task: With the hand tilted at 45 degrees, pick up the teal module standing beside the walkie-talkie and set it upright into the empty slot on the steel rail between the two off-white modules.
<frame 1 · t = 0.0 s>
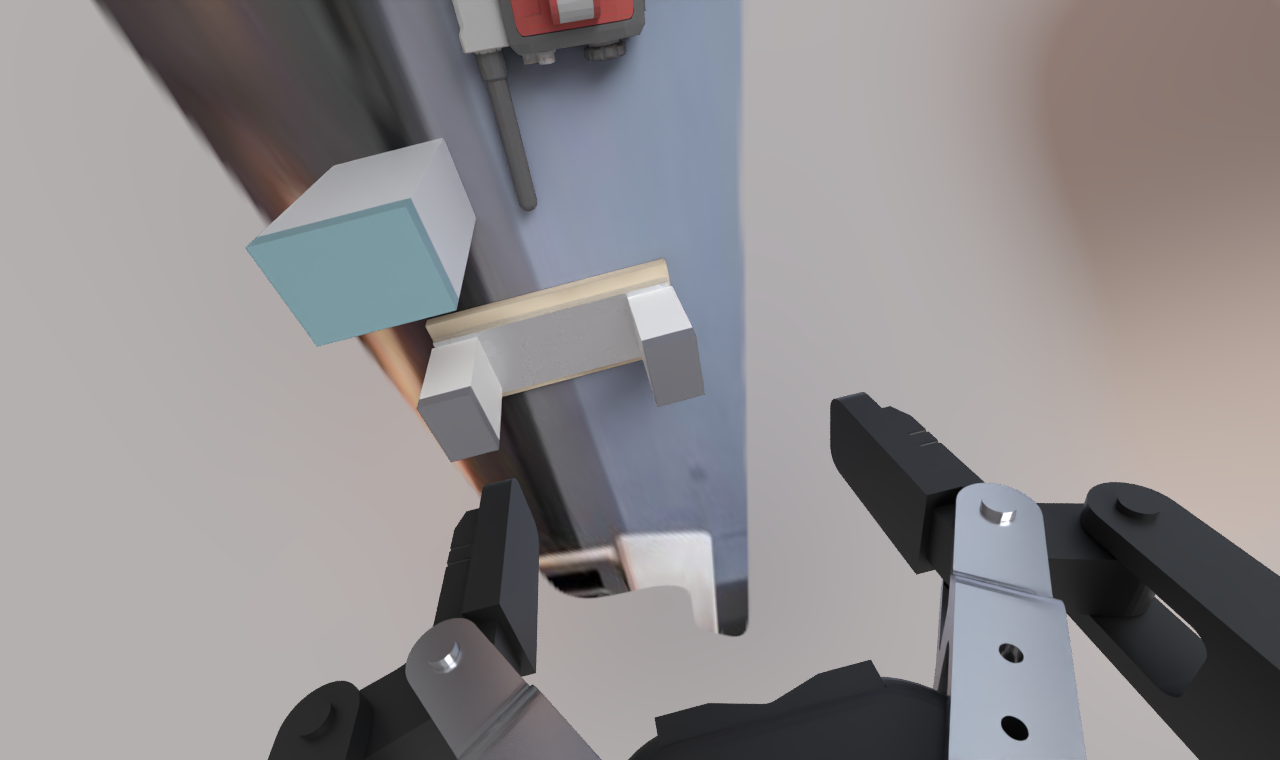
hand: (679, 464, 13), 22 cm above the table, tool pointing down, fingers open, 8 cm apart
teal module: (408, 193, 29), on the table
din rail: (562, 341, 35), on the wood panel, point 1 cm above the table
wood panel: (561, 332, 36), on the table
mounted modules: (565, 371, 32), on the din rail, point 5 cm above the table
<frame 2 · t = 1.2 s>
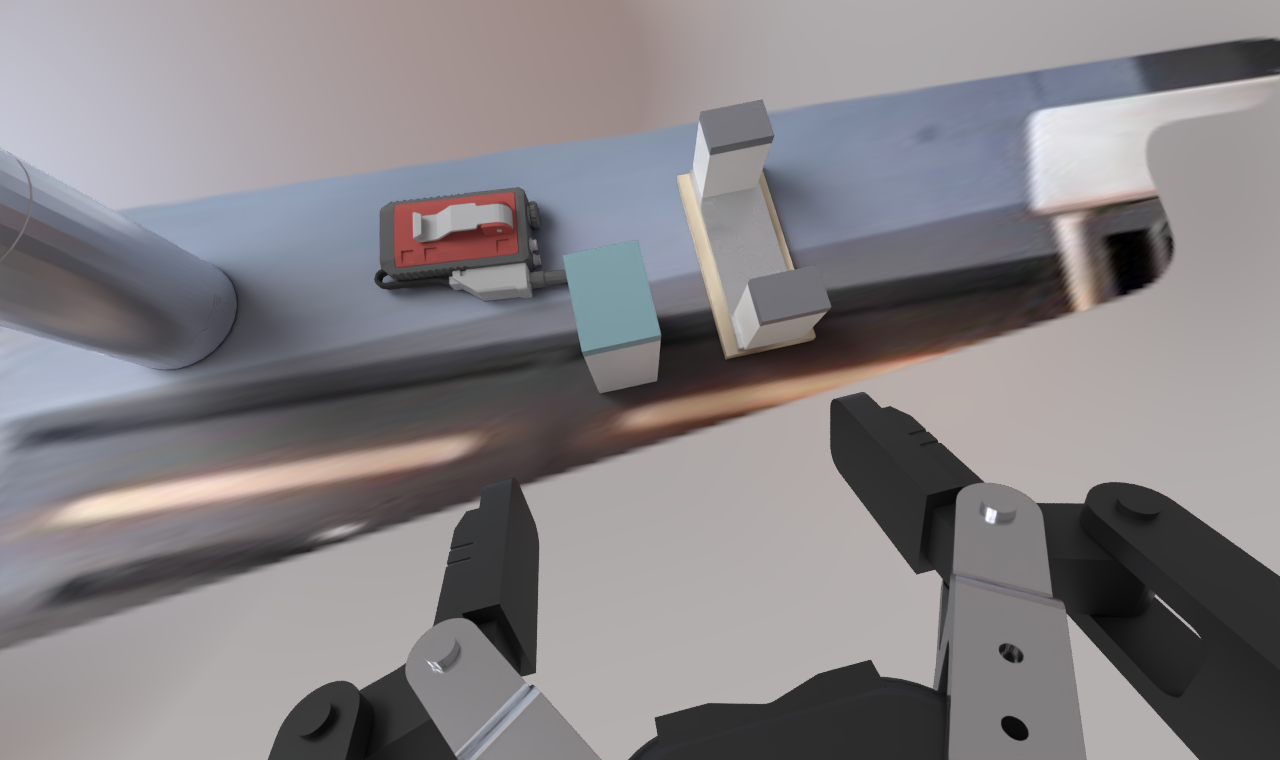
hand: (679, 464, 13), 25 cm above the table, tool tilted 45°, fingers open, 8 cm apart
teal module: (620, 350, 40), on the table
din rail: (744, 250, 40), on the wood panel, point 1 cm above the table
walkie-talkie: (506, 254, 43), on the table
wood panel: (741, 257, 42), on the table
mounted modules: (753, 228, 37), on the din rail, point 5 cm above the table
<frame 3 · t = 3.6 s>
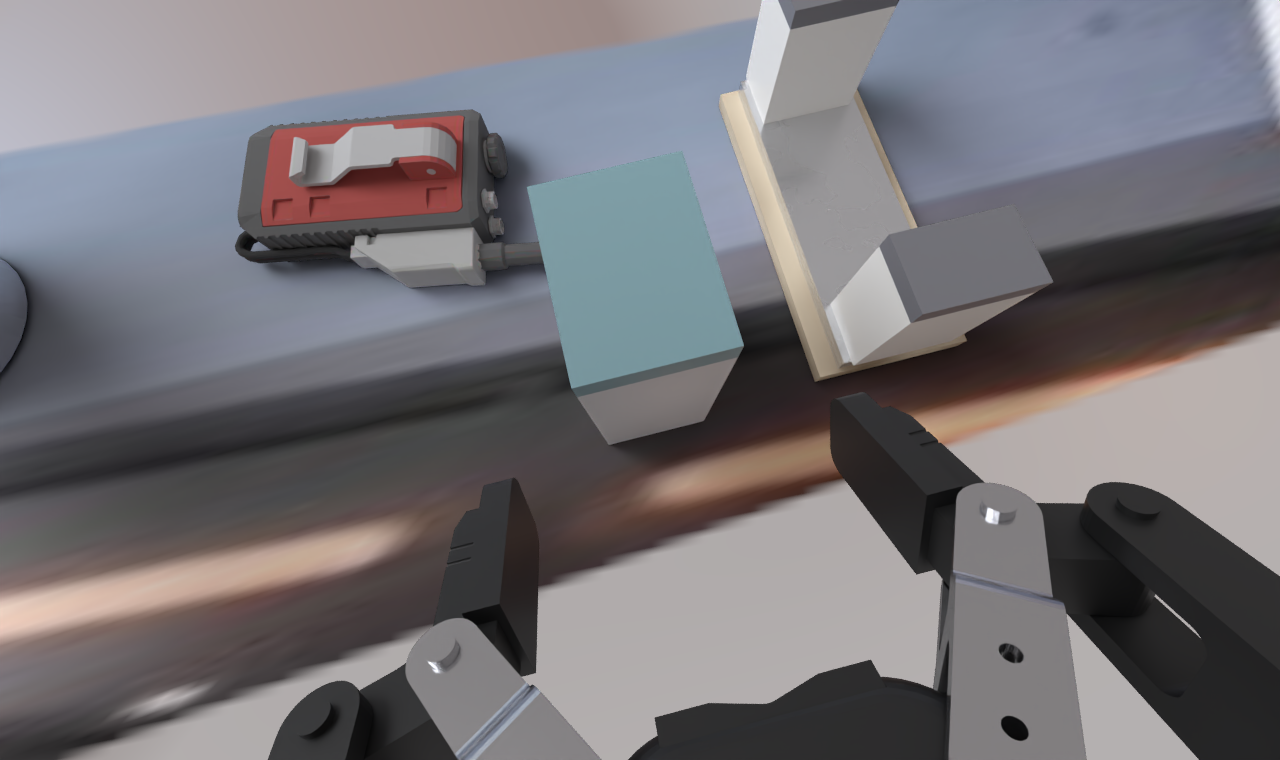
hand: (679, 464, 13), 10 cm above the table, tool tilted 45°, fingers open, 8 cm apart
teal module: (640, 372, 24), on the table
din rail: (837, 203, 25), on the wood panel, point 1 cm above the table
walkie-talkie: (452, 218, 27), on the table
wood panel: (829, 217, 26), on the table
mounted modules: (865, 156, 22), on the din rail, point 5 cm above the table
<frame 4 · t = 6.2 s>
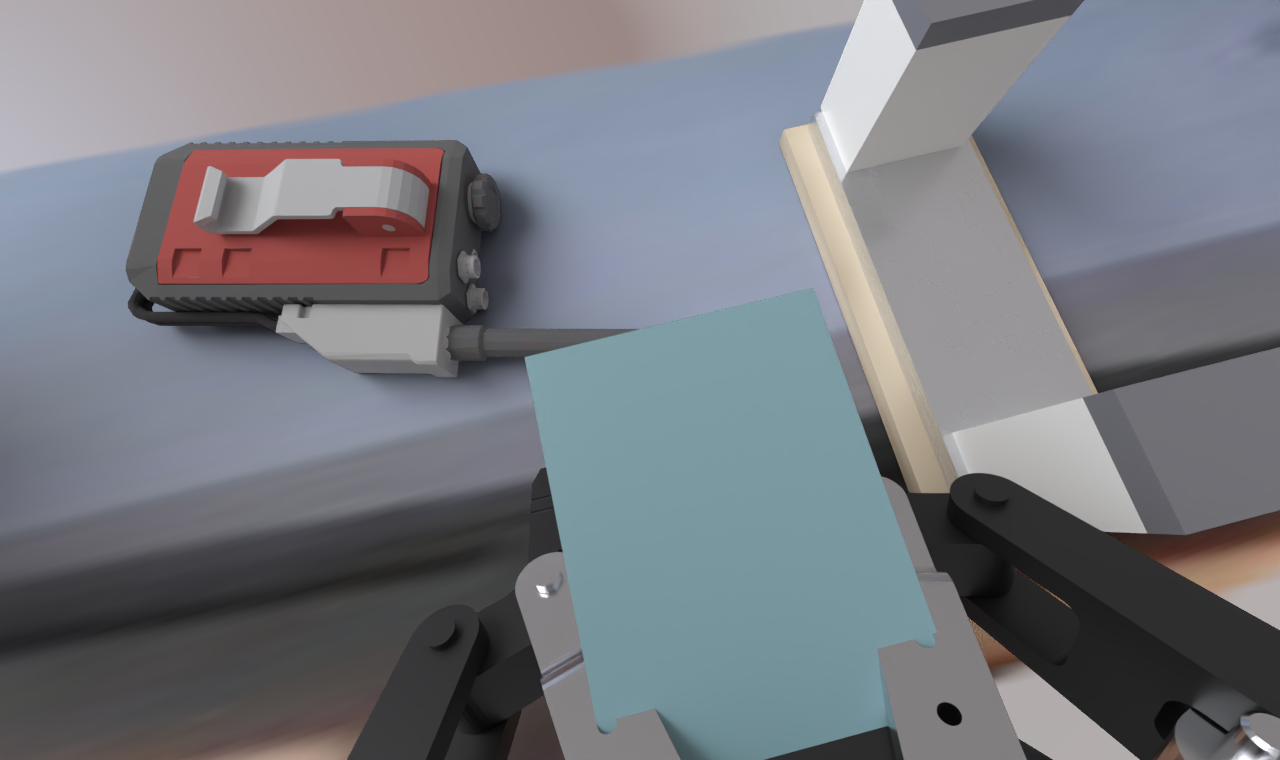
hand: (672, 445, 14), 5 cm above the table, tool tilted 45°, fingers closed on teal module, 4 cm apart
teal module: (682, 516, 18), on the table, touching gripper
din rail: (950, 283, 18), on the wood panel, point 1 cm above the table
walkie-talkie: (423, 277, 21), on the table
wood panel: (933, 297, 19), on the table
mounted modules: (1016, 233, 15), on the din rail, point 5 cm above the table
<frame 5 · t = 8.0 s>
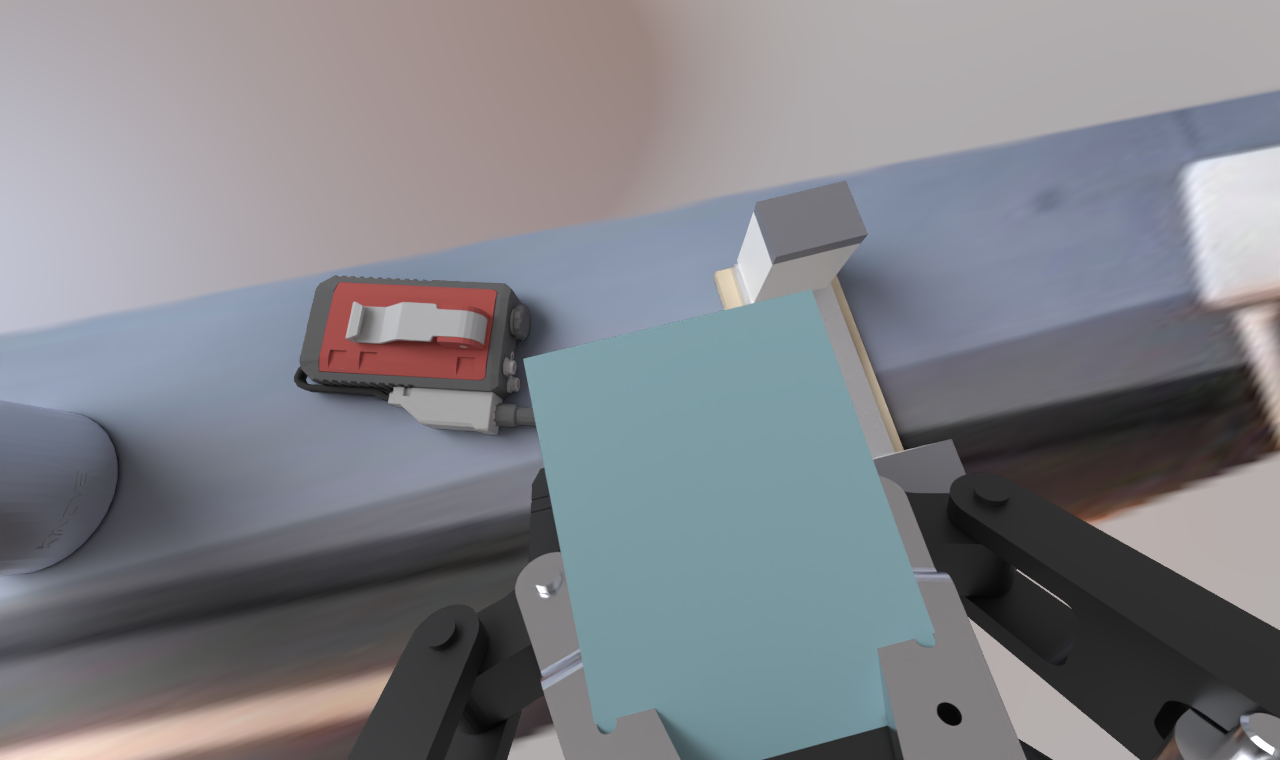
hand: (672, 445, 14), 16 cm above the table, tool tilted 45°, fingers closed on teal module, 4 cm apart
teal module: (681, 517, 18), point 11 cm above the table, touching gripper
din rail: (815, 379, 29), on the wood panel, point 1 cm above the table
walkie-talkie: (477, 364, 32), on the table
wood panel: (809, 384, 30), on the table
mounted modules: (836, 362, 26), on the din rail, point 5 cm above the table
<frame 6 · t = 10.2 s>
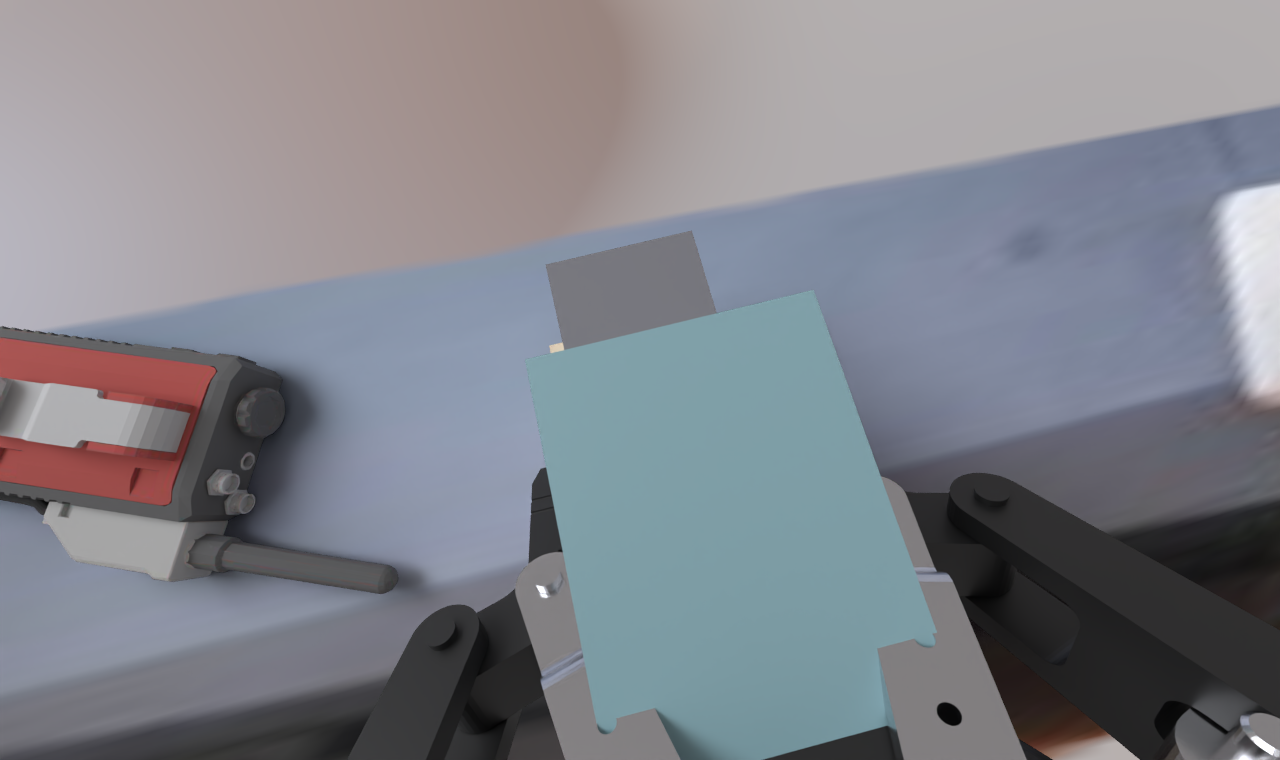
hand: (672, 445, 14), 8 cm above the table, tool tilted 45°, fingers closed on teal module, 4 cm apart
teal module: (682, 517, 18), point 3 cm above the table, touching gripper
walkie-talkie: (212, 461, 22), on the table
mounted modules: (682, 514, 16), on the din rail, point 5 cm above the table
when the fingers open (8 cm above the table, at t = 11.0 s): teal module drops 1 cm, resting on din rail.
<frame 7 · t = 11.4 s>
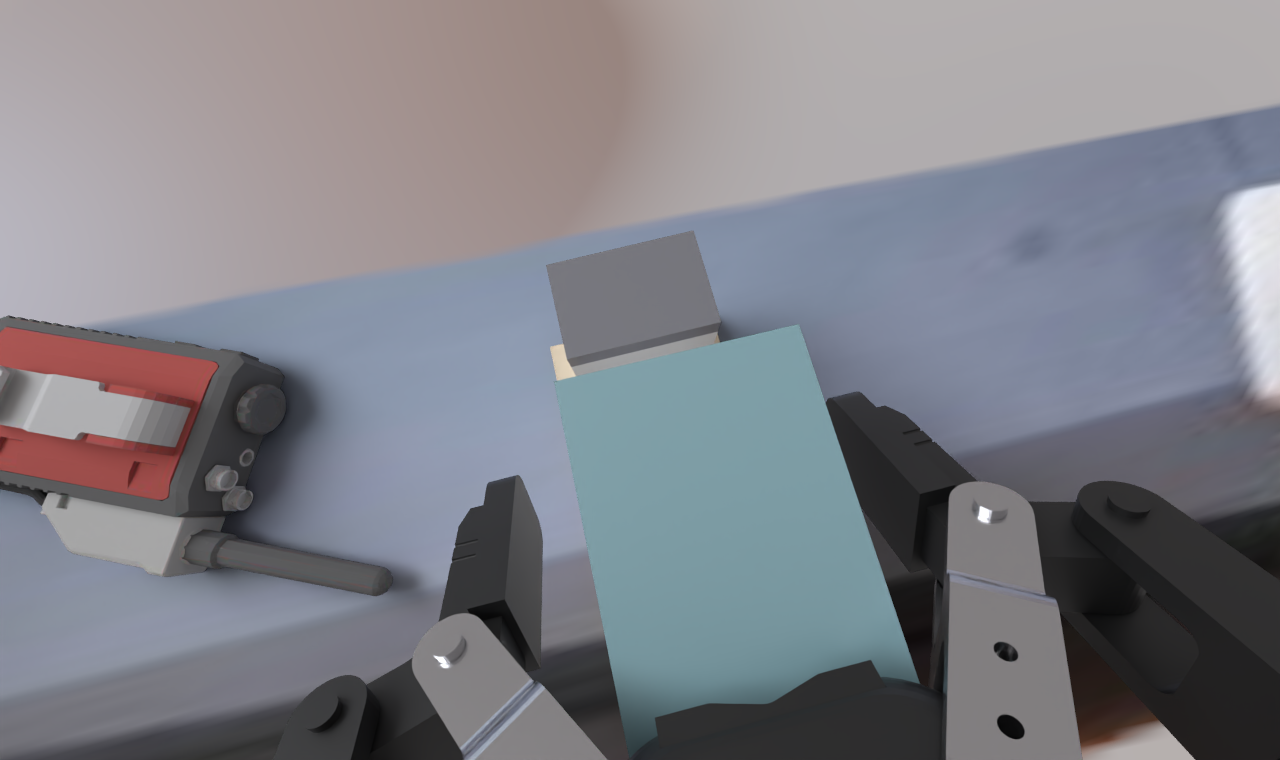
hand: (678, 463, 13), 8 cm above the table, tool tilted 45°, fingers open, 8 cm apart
teal module: (684, 516, 19), point 2 cm above the table, touching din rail
walkie-talkie: (211, 456, 22), on the table
wood panel: (677, 516, 21), on the table
mounted modules: (684, 517, 16), on the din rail, point 5 cm above the table
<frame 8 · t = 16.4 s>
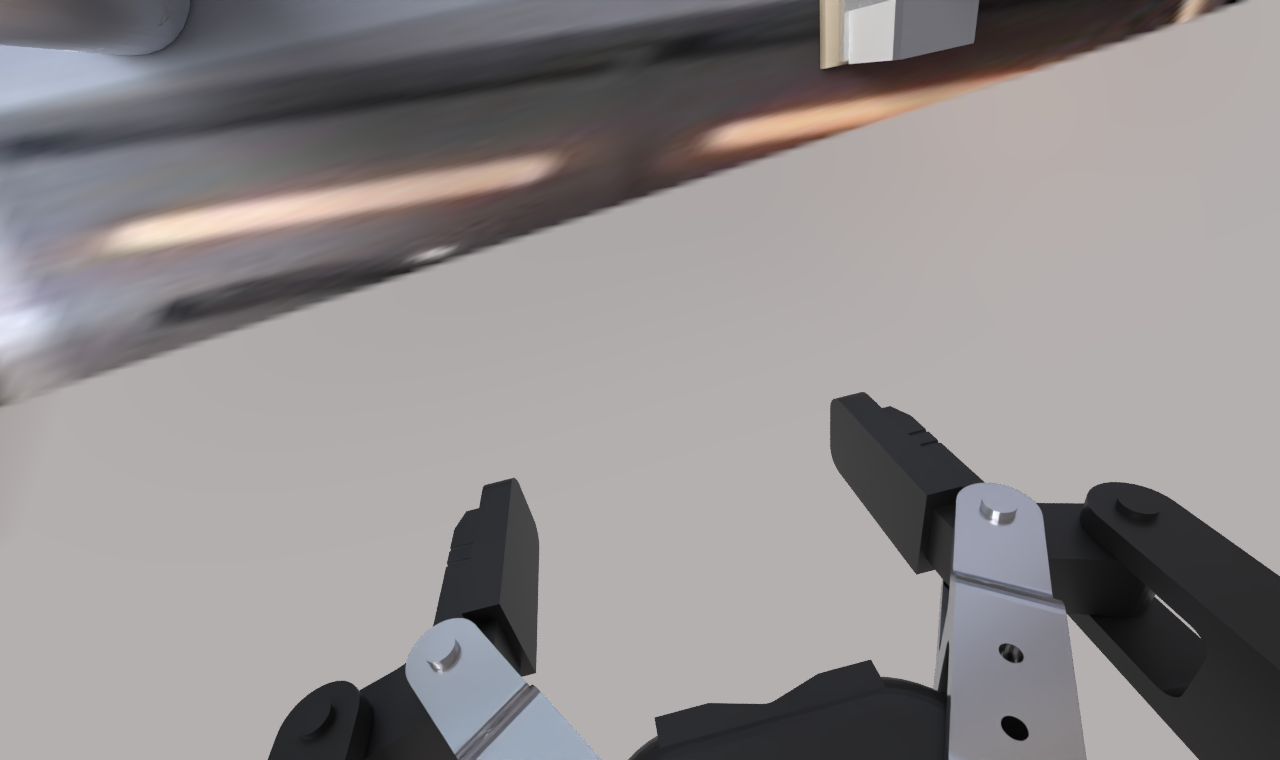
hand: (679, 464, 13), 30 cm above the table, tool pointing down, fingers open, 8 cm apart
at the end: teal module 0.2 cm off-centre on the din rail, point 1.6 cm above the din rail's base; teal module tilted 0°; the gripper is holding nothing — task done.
